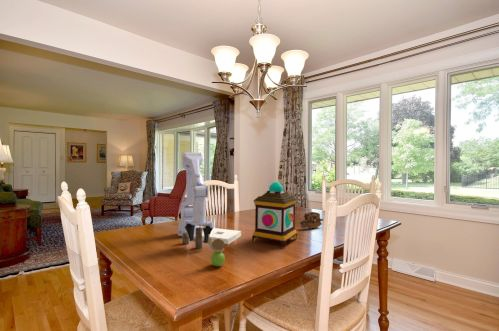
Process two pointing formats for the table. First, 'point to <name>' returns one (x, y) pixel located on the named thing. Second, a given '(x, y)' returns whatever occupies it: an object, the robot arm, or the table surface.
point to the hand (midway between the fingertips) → (198, 241)
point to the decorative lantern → (275, 215)
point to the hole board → (223, 235)
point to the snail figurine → (217, 251)
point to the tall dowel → (198, 238)
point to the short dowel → (185, 238)
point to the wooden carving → (311, 220)
